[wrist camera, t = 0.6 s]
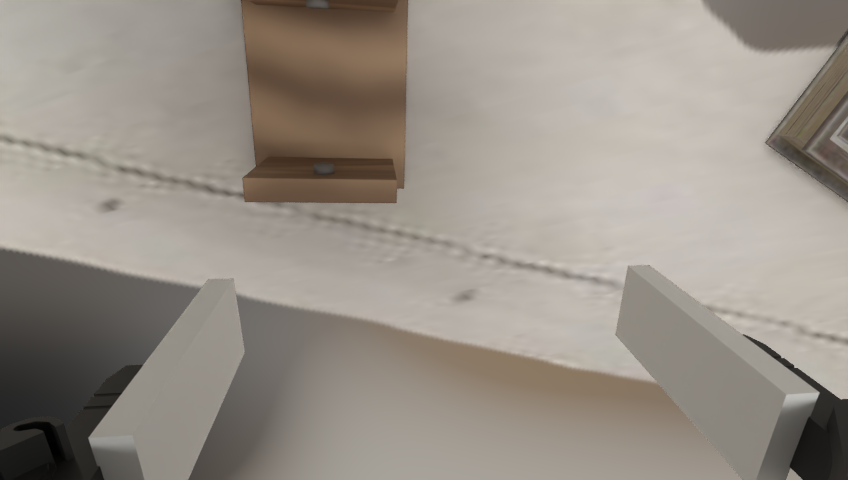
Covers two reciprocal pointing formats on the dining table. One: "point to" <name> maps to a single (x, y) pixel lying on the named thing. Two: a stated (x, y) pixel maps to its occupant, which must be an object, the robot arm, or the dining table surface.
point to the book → (820, 125)
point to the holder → (326, 99)
